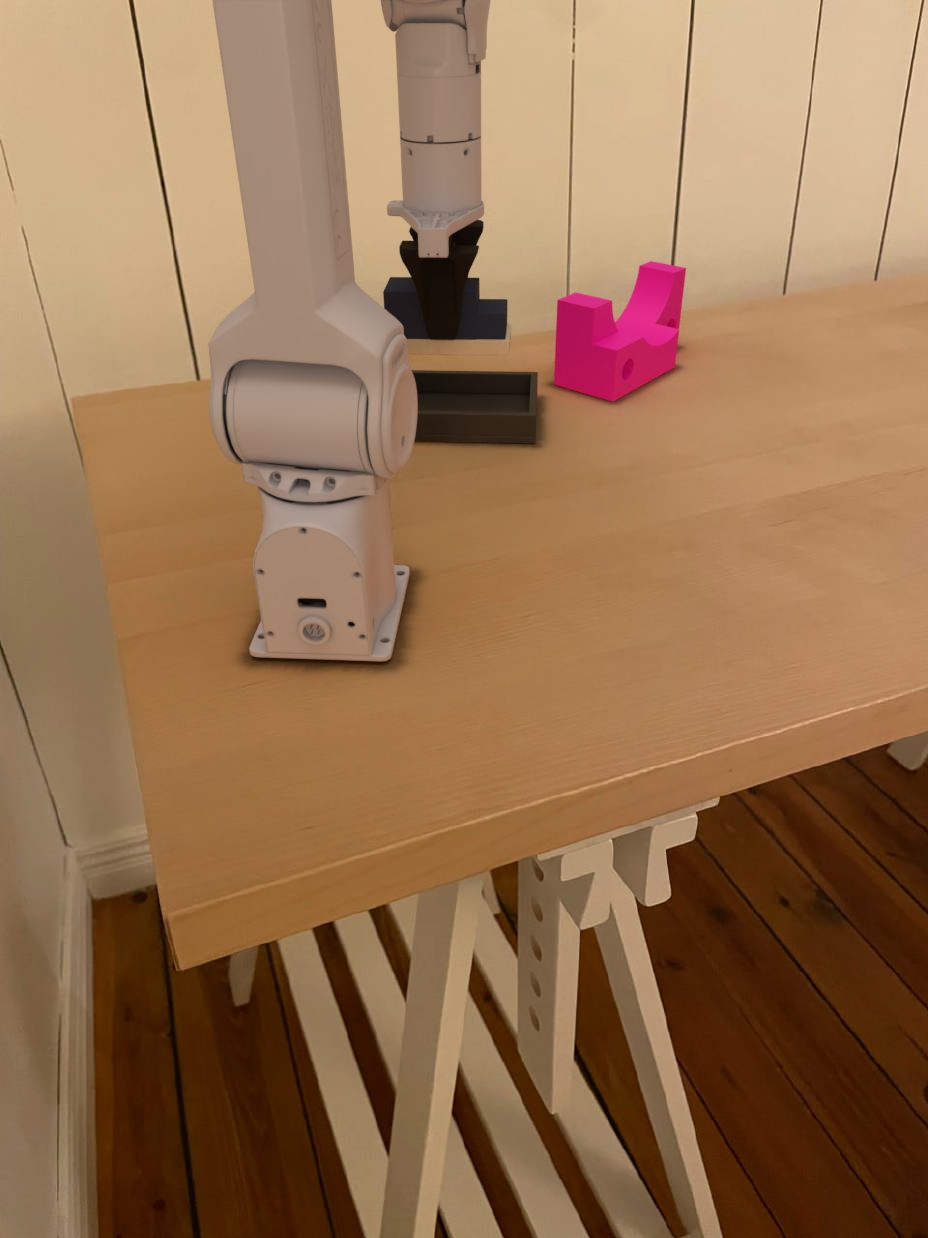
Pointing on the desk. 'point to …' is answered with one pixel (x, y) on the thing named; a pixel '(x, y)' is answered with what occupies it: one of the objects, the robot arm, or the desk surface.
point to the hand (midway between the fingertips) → (445, 328)
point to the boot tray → (476, 406)
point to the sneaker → (477, 329)
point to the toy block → (620, 335)
